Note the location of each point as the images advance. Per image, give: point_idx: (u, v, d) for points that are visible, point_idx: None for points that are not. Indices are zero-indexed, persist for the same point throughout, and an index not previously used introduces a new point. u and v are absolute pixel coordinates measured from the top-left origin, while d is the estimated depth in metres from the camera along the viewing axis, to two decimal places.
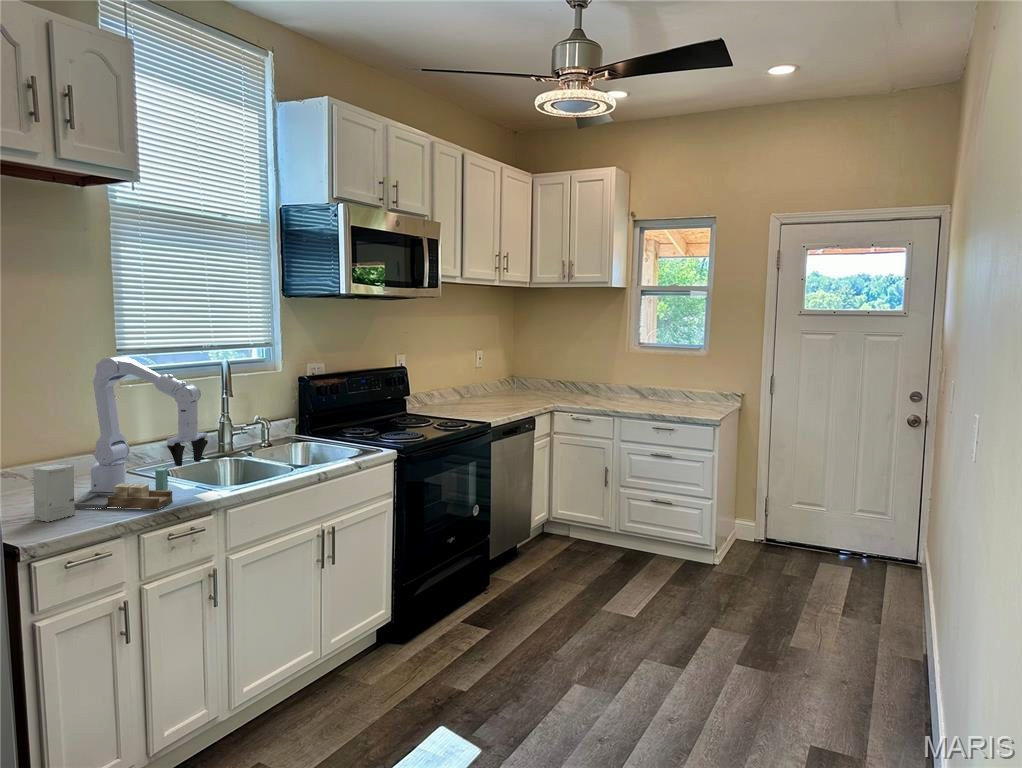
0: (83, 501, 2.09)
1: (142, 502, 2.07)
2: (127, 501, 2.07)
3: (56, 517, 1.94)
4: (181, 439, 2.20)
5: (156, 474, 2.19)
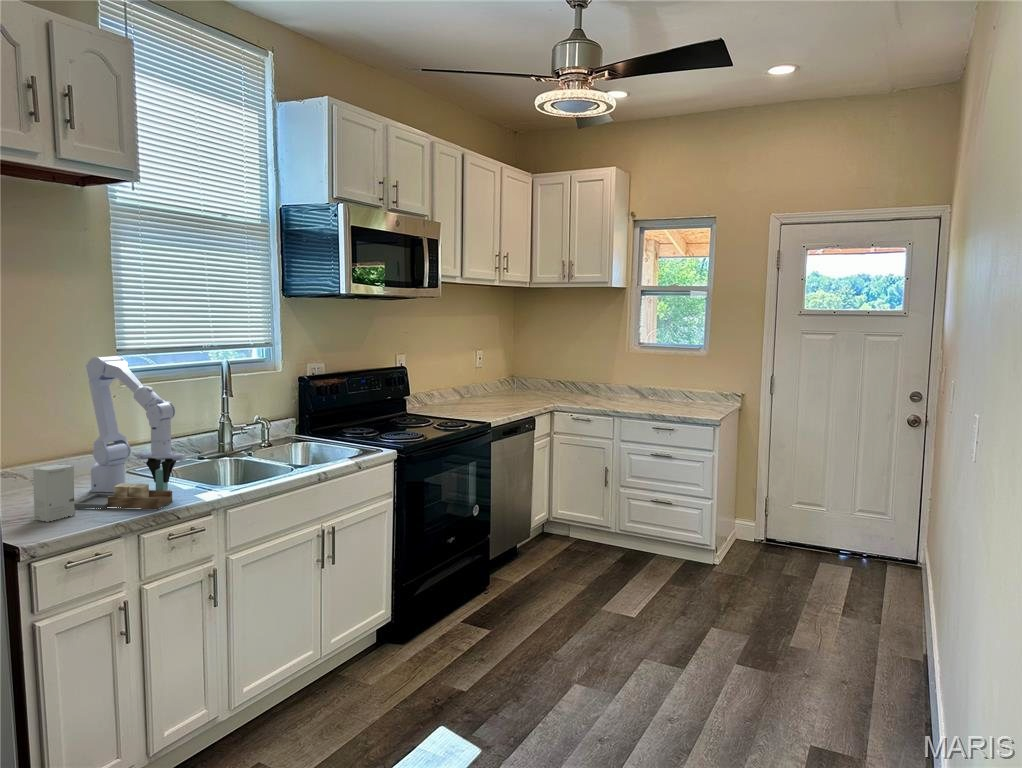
0: (83, 501, 2.09)
1: (142, 502, 2.07)
2: (127, 501, 2.07)
3: (56, 517, 1.94)
4: (145, 455, 2.18)
5: (156, 474, 2.19)
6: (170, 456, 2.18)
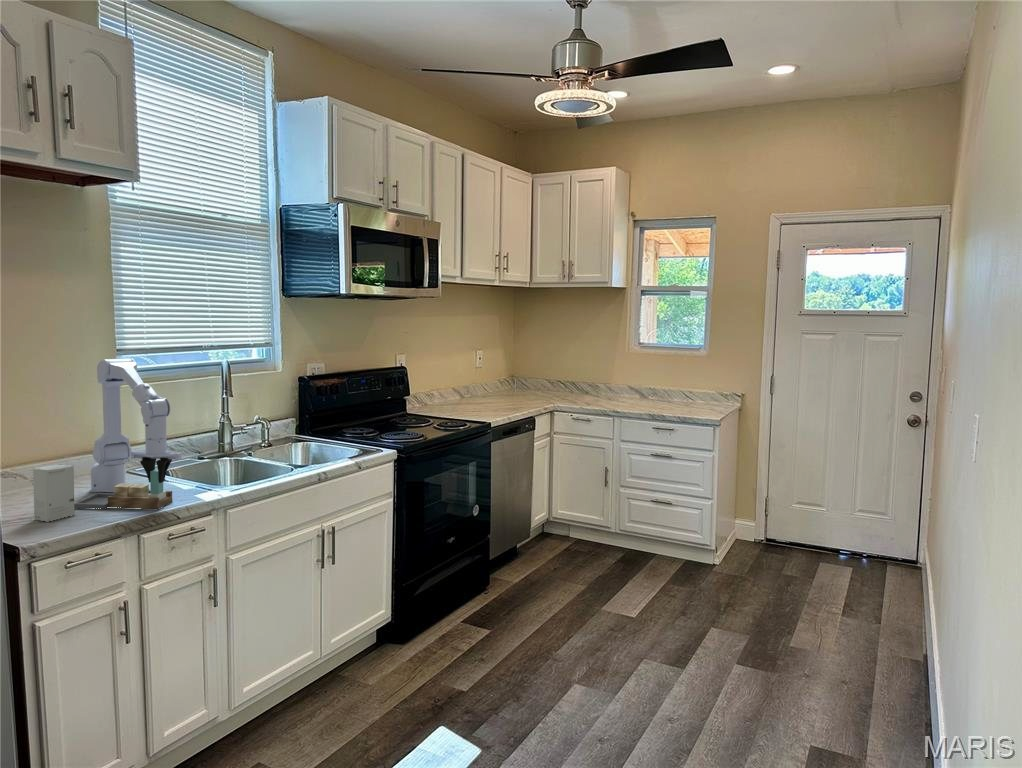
0: (83, 501, 2.09)
1: (142, 502, 2.07)
2: (127, 501, 2.07)
3: (56, 517, 1.94)
4: (139, 454, 2.08)
5: (151, 475, 2.09)
6: (165, 455, 2.08)
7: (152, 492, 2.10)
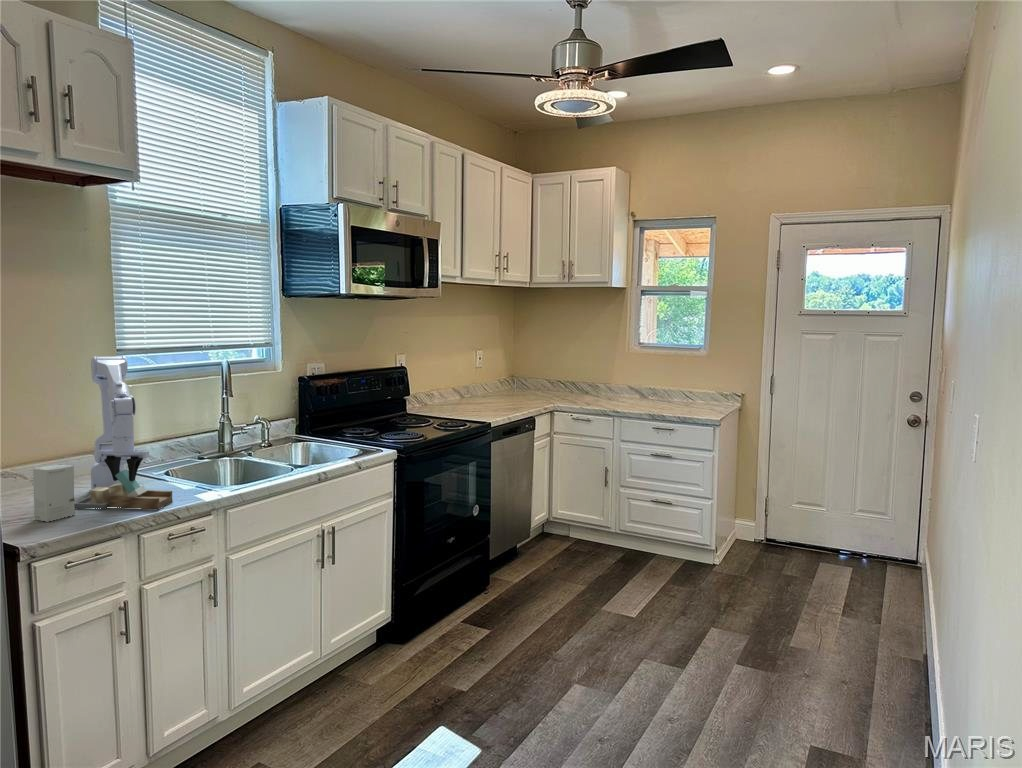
0: (83, 501, 2.09)
1: (142, 502, 2.07)
2: (127, 501, 2.07)
3: (56, 517, 1.94)
4: (106, 452, 2.08)
5: (118, 478, 2.09)
6: (132, 453, 2.08)
7: (129, 491, 2.10)
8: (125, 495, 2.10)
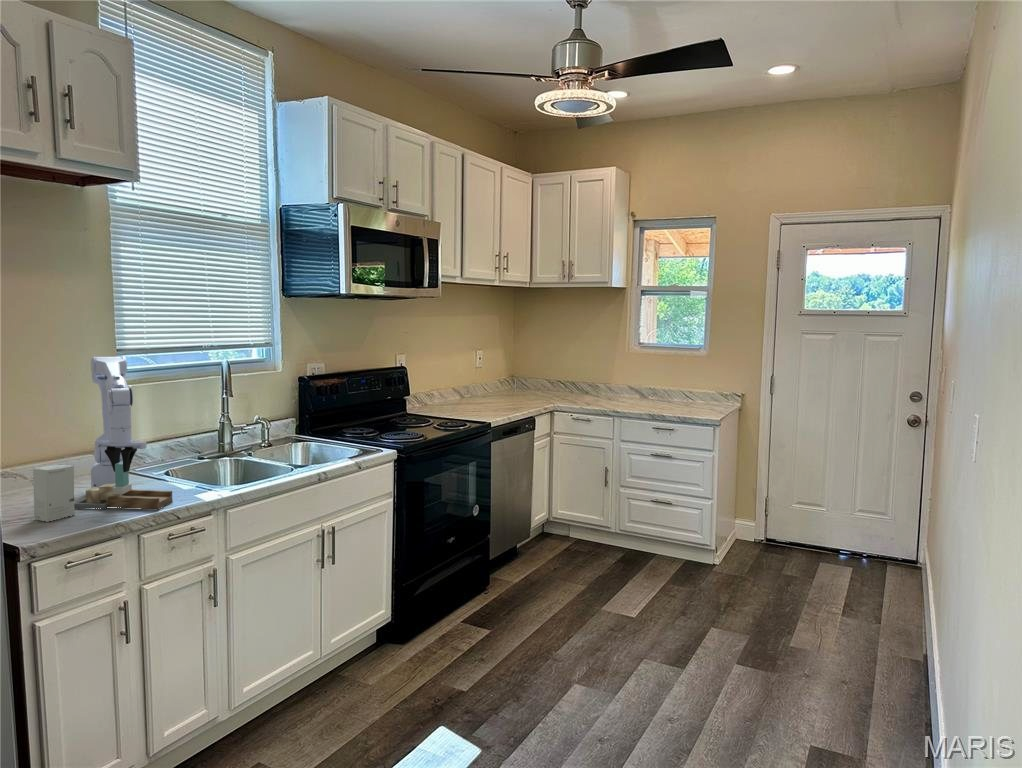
0: (83, 501, 2.09)
1: (142, 502, 2.07)
2: (127, 501, 2.07)
3: (56, 517, 1.94)
4: (103, 443, 2.08)
5: (116, 468, 2.09)
6: (130, 444, 2.08)
7: (117, 485, 2.10)
8: None
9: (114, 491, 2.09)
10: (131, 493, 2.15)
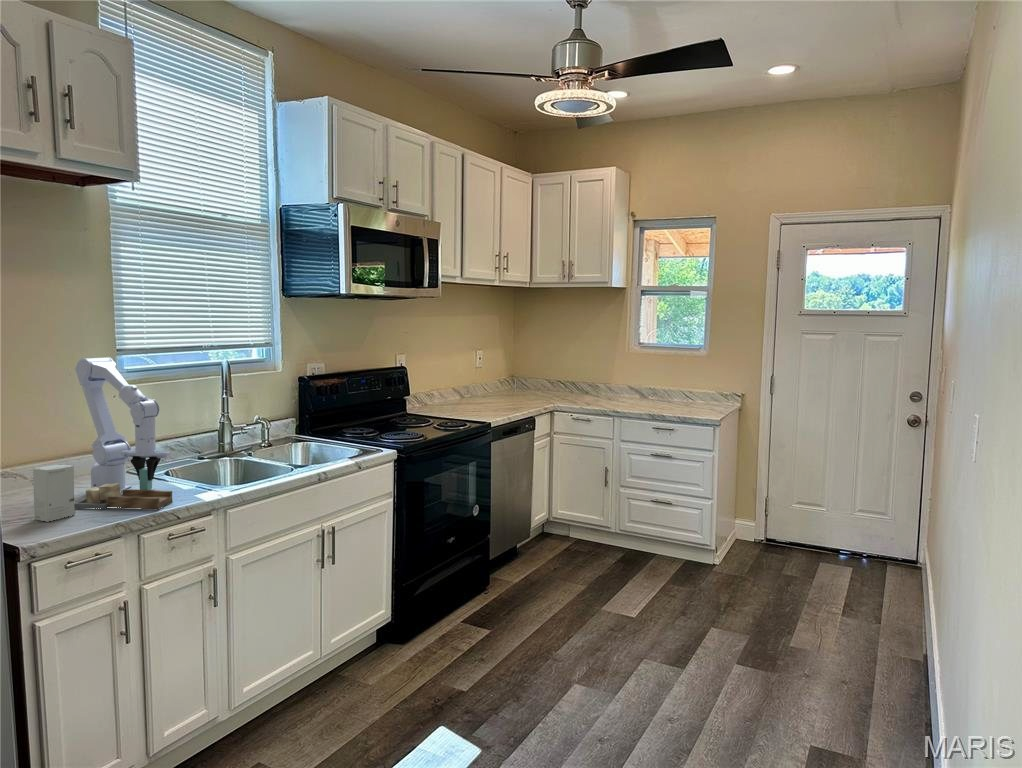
0: (83, 501, 2.09)
1: (142, 502, 2.07)
2: (127, 501, 2.07)
3: (56, 517, 1.94)
4: (129, 453, 2.18)
5: (140, 474, 2.19)
6: (154, 454, 2.18)
7: (141, 489, 2.20)
8: None
9: None
10: (131, 493, 2.15)
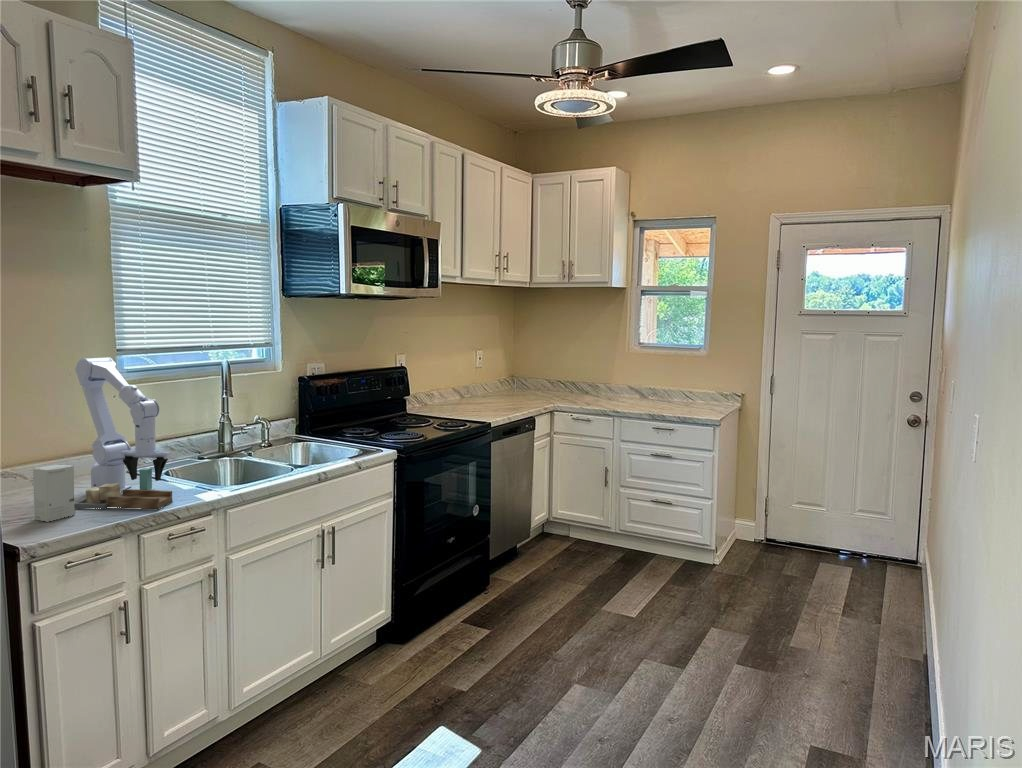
0: (83, 501, 2.09)
1: (142, 502, 2.07)
2: (127, 501, 2.07)
3: (56, 517, 1.94)
4: (129, 453, 2.18)
5: (140, 474, 2.19)
6: (154, 454, 2.18)
7: (141, 489, 2.20)
8: None
9: None
10: (131, 493, 2.15)
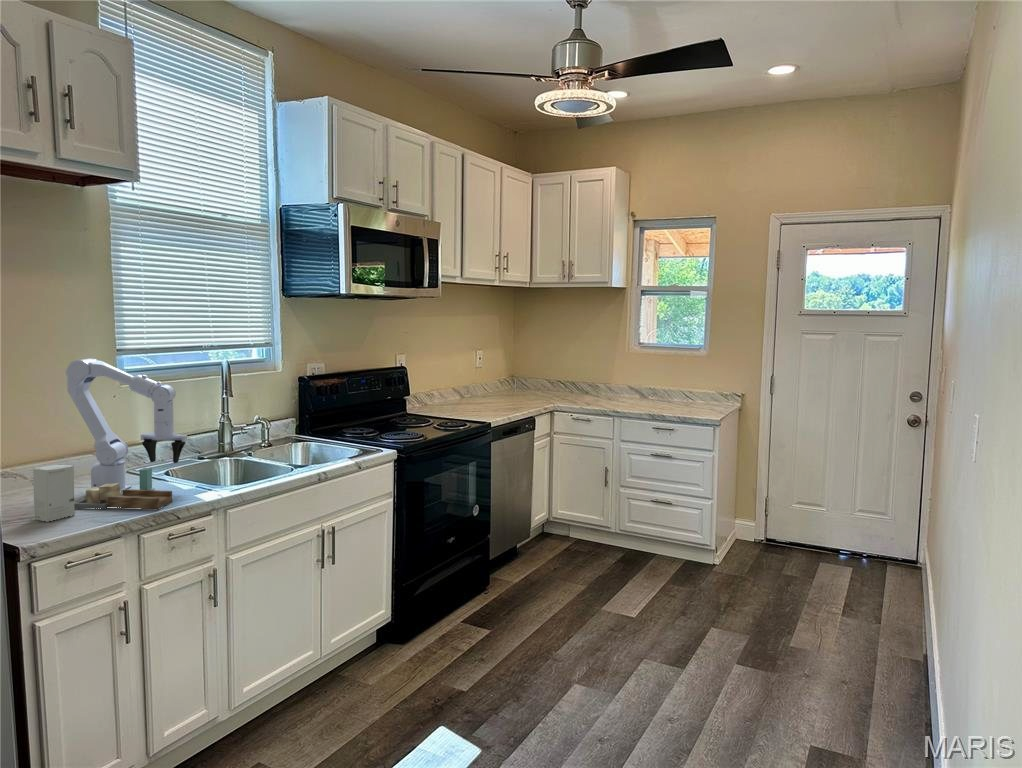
0: (83, 501, 2.09)
1: (142, 502, 2.07)
2: (127, 501, 2.07)
3: (56, 517, 1.94)
4: (148, 436, 2.26)
5: (140, 474, 2.19)
6: (172, 437, 2.26)
7: (141, 489, 2.20)
8: None
9: None
10: (131, 493, 2.15)
